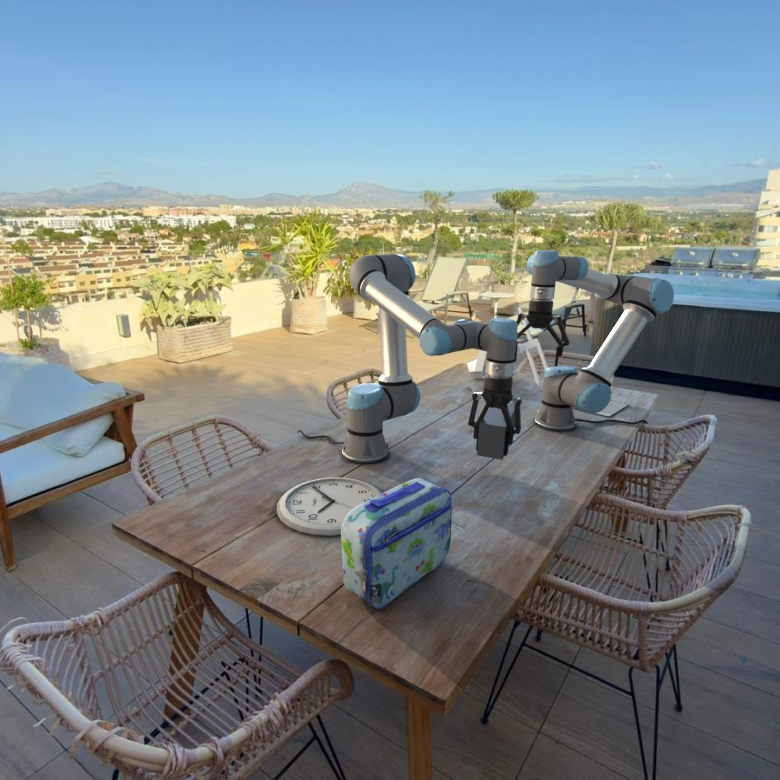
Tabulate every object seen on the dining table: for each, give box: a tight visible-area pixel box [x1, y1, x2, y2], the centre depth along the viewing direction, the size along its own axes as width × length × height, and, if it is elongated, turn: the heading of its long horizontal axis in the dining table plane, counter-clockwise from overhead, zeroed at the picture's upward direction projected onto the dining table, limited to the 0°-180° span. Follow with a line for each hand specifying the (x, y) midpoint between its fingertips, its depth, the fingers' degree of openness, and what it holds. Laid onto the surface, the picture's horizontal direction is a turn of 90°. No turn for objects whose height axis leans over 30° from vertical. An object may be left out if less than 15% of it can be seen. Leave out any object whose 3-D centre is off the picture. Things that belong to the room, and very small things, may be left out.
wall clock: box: [276, 476, 383, 537], centre depth 142 cm, size 30×2×30 cm
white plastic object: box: [466, 306, 549, 391], centre depth 258 cm, size 37×45×31 cm
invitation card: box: [575, 400, 629, 418], centre depth 226 cm, size 21×1×15 cm
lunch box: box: [340, 477, 452, 610], centre depth 110 cm, size 26×11×21 cm, turn 134°
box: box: [476, 402, 515, 461], centre depth 156 cm, size 22×7×10 cm, turn 158°
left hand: (491, 451), depth 151 cm, fingers closed on box, 7 cm apart
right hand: (535, 363), depth 175 cm, fingers open, 13 cm apart
